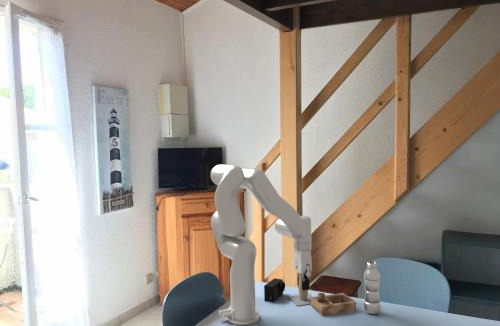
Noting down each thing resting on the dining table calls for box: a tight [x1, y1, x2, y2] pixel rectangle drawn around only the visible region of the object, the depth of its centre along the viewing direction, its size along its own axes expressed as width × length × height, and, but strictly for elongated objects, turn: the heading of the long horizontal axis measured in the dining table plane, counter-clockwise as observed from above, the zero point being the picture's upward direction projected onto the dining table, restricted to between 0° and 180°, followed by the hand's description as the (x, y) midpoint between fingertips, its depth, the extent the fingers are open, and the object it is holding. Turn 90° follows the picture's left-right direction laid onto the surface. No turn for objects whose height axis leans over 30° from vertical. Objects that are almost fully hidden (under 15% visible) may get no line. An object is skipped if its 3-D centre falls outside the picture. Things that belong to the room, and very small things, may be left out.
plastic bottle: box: [363, 260, 382, 315], centre depth 157 cm, size 6×7×20 cm
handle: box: [295, 265, 309, 301], centre depth 172 cm, size 5×6×15 cm
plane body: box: [310, 292, 357, 317], centre depth 163 cm, size 15×10×6 cm
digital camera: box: [263, 278, 286, 303], centre depth 175 cm, size 10×5×7 cm, turn 152°
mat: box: [288, 293, 314, 307], centre depth 172 cm, size 10×10×1 cm
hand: (303, 287), depth 172 cm, fingers open, 4 cm apart
